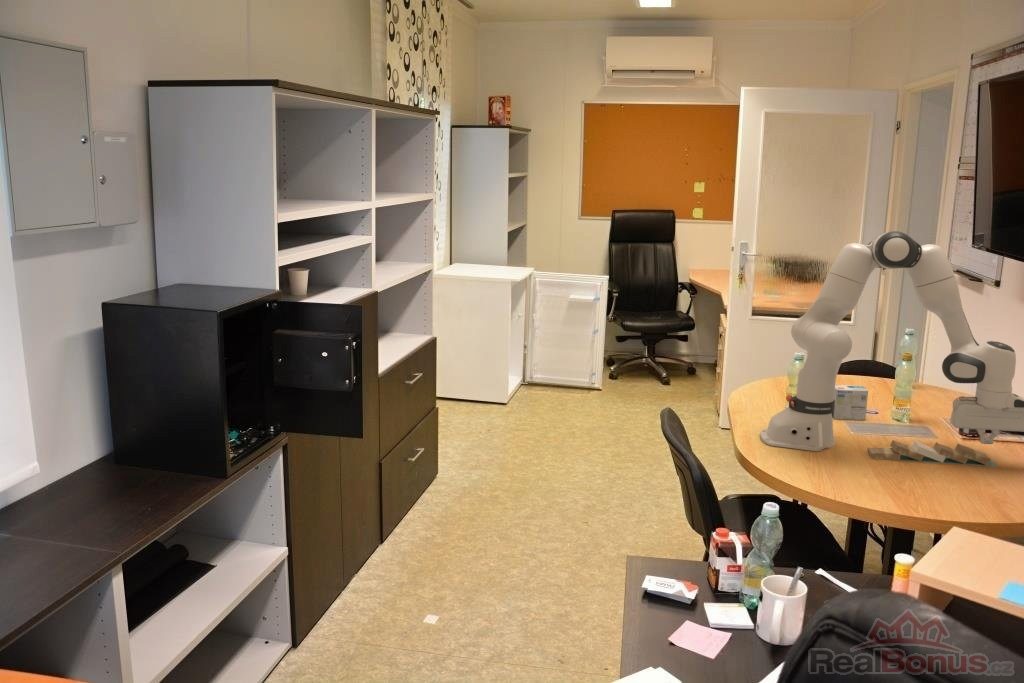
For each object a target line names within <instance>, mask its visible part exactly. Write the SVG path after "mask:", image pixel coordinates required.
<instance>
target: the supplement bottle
mask: <svg viewBox="0 0 1024 683" xmlns="http://www.w3.org/2000/svg"><path fill="white" fill-rule="evenodd" d="M958 433H959V434H961V435H962V434H965V435H972V436H975V435H979V433H978V431H977V429H967V428H958ZM965 435H964V436H965ZM979 436H980V435H979Z"/></svg>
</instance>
